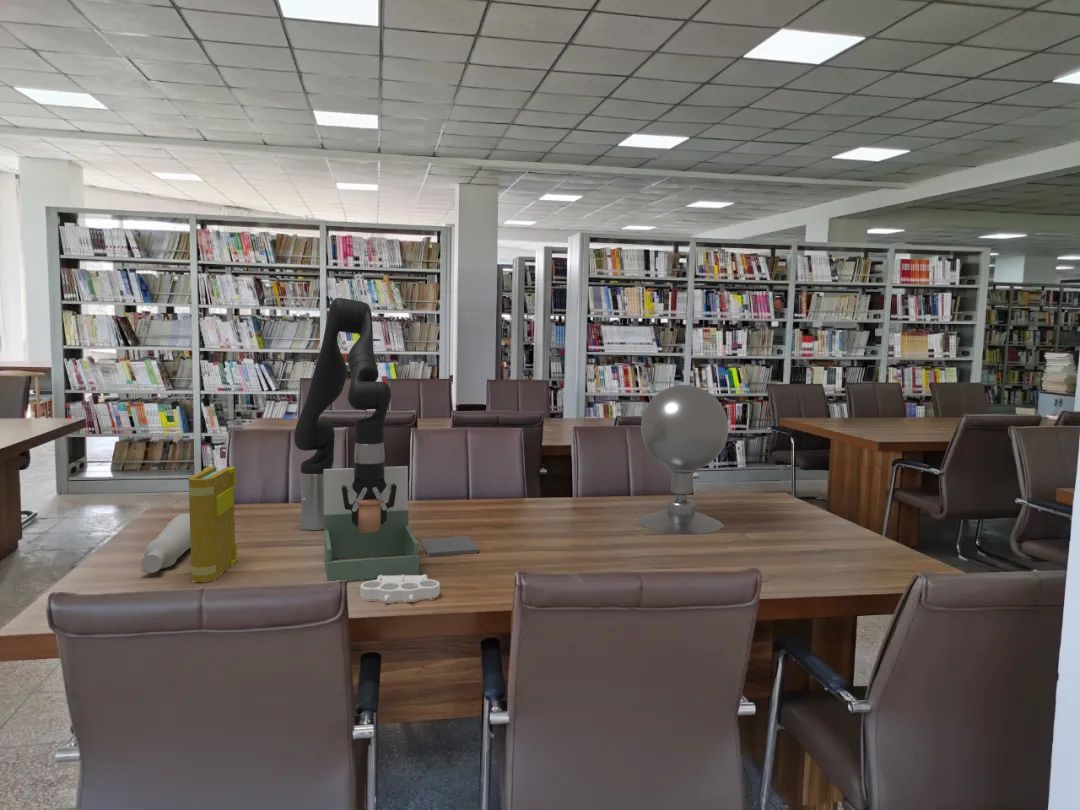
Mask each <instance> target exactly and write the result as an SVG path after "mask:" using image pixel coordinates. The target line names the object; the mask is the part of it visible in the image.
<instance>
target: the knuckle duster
mask: <svg viewBox="0 0 1080 810" xmlns="http://www.w3.org/2000/svg"><path fill="white" fill-rule="evenodd" d="M359 590H360V591H359V593H360V594H359V595H360V596H361V597H362V598H364V599H379V600H383V601H396V600H403V601H412V600H416V599H420V598H432V597H436V596H438V595H439V594H440V595H441V583H440V582H439V581H437V580H435V579H430V578H428V575H427V574H426V573H424V574H422V575H421V574H419V575H398V576H382V575H379V576H378V578H377V579H372V580H366V581H365V582H362V583H361V584H360V589H359ZM360 596H359V597H360Z"/></svg>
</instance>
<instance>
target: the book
mask: <svg viewBox="0 0 1080 810" xmlns="http://www.w3.org/2000/svg"><path fill="white" fill-rule="evenodd" d="M236 478H237V477H236V466H227V467H225V468H223V469H221V470H217V467H216V466H207V467H205V468H203V469H202V470H201V471H199V472H197V473H196V474H194V475H192V476H190V477H188V500H189V501H188V502H189V506H188V508H189V514H190V545H191V548H190V572H191V573H190V576H191V579H192V580H193V581H196V582H208V583H210V582H209V581H212V582H214V581H213V580H214V579H217V578H218V576H220V574H221V573H222V572H223V571H225V570H226V569H227V568H228V567H229V566H230V565H233V564H234V563H235V562H236V561H237V562H238V543H236V531H235V526H236V525H235V523H236V522H235V518H236V517H235V486H236V485H237V484H236V483H237V482H236ZM237 562H236V563H237ZM236 563H235V564H236ZM235 564H234V565H235ZM234 565H233V566H234ZM230 567H231V566H230ZM230 567H229V568H230ZM229 568H228V569H229ZM228 569H227V570H228ZM227 570H226V571H227ZM226 571H225V572H226ZM220 577H221V576H220ZM191 579H190V580H191ZM218 579H219V578H218ZM218 579H217V580H218ZM192 580H191V581H192Z"/></svg>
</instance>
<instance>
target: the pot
mask: <svg viewBox="0 0 1080 810" xmlns="http://www.w3.org/2000/svg"><path fill="white" fill-rule="evenodd" d="M381 503H382V502H381V499H380V500H377V499H365V500H363V499H362V500H358V503H357V504H359V506H358V508H357V511H358V526H357V531H358V532H362V533H374V532H378V531H380V530H381Z"/></svg>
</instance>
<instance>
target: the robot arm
mask: <svg viewBox="0 0 1080 810" xmlns="http://www.w3.org/2000/svg"><path fill="white" fill-rule="evenodd" d="M326 319H327V320H326V324H325V329H324V334H323V338H322V343H321V347H320V350H319V354H318V358H317V360H316V364H315V367H314V369H313V374H312V377H311V381H310V386H309V389H308V392H307V396H306V399H305V403H304V405H303V408H302V410H301V413H300V415H299V418H298V420H297V423H296V426H295V429H294V434H293V435H294V436H293V437H294V438H293V439H294V444H295V446H296V447H297V450H298V449H299V450H300V451H316V452H315V453H314V454H313V456H311V457H310V458H308V459H306V460H304V461H303V462H302V463H301V464H300V484H301V485H300V495H301V496H300V499H301V500H300V502H301V506H300V507H301V508H300V510H301V511H300V513H301V515H300V516H301V530H307V531H318V530H319V531H320V530H321V529H322V530H324V469H333V464H334V460H335V459H334V458H335V456H334V455H335V437H336V436H335V427H334V425H333V423H332V421H331V420H330V419H327V418H320V417H321V415H322V414H323V413H324V411H326V409H327V408H329V407H330V406H331V405H332V404H333V403H334V402H335V401H336V400H337V399H338V398H339V397H340V395H341V394H342V392H343V390H344V387H345V384H346V380H347V376H348V369H349V373H350V384H349V388H348V393H347V401H348V403H349V405H350V406H351V407H352V408H353V409H355V410H375V411H374V412H373V414H372V415H371V416H370V415H369V416H367V417H364V418H360V419H358V420H356V421H355V425H354V426H355V427H354V429H355V430H354V432H355V433H354V437H355V439H354V440H355V441H354V449H353V450H354V451H353V468H354V482H353V484H352V485H342V487H341V488H342V494H343V501H344V507H345V509H346V510H351V511H352V523H353V524H354V525H355V526H358V511H357V508H358V506H359V504H357V503H358V500H362V499H363V500H365V499H377V500H380V499H381V502H382V503H381V524H384V522H386V520H387V509H388V508H390V507H393V506H394V502H395V495H396V489H397V486H396V484H395V483H392V484H389V483H386V482H385V480H384V467H385V459H386V456H385V455H386V454H385V446H384V437H385V436H384V432H385V431H384V429H385V421H386V416H387V413H388V410H389V409H388V408H389V406H390V403H391V400H392V399H391V398H392V390H391V387H390V386H389V384H388V383H387V382H385V381H378V379H379V370H378V369H379V368H378V365H377V364H378V363H377V360H376V356H375V351H374V331H373V315H372V309H371V307H370V304H368V303H367V302H364V301H361V300H356V299H349V298H342V297H336V298H334V299H333V300H332V302H331V304H330V306H329V310H328V313H327V318H326ZM339 333H349V334H354V335H357V334H358V335H359V337H358V339H357V340H356V342H355V343H354V344H353V345H352V347H351V348H350V350H349V352H348V355H347V363H348V367H347V363H346V361H345V359H344V357H343V354H342V352H341V350H340V346H339V342H338V336H339ZM385 488H388V491H389V492H390V494H389V501H388V502H387V503H385V502H384V500H383V498H382V496H381V493H382V492H383V491H384V489H385ZM351 489H353V490H354V491H355V492H356V493H357V496H356V498H355V500H354V502H353V504H349V500H348V494H349V493H350V491H351ZM322 530H321V531H322Z"/></svg>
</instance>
